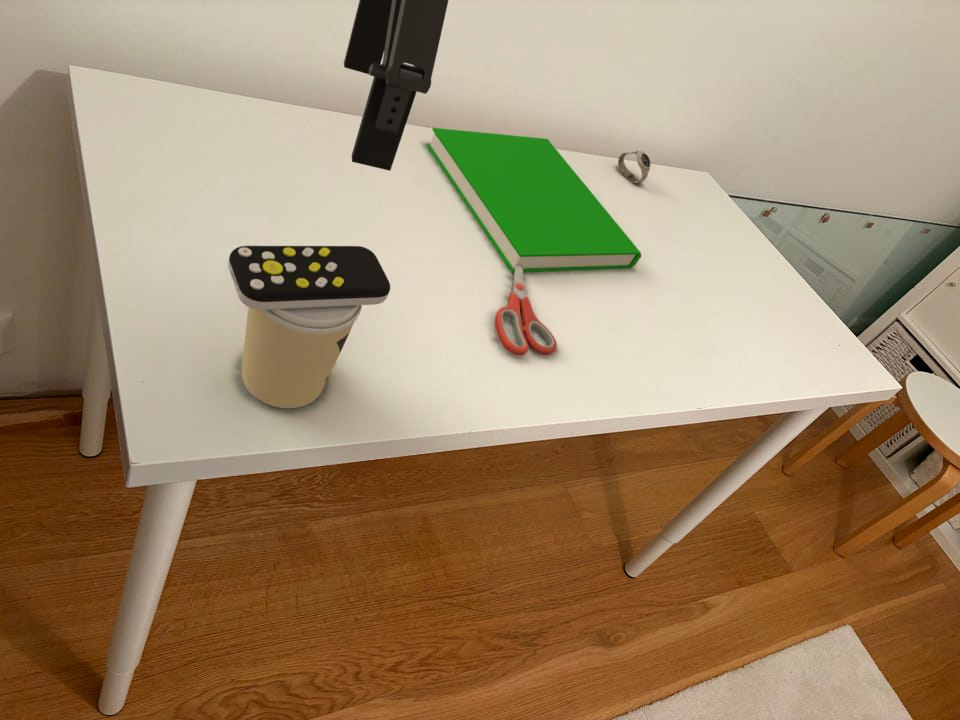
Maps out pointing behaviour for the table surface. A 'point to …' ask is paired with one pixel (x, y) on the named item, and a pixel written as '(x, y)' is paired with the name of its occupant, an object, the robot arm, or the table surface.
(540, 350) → the scissors
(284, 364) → the coffee cup
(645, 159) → the wristwatch
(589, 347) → the table surface
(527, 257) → the book
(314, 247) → the remote control
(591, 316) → the table surface
